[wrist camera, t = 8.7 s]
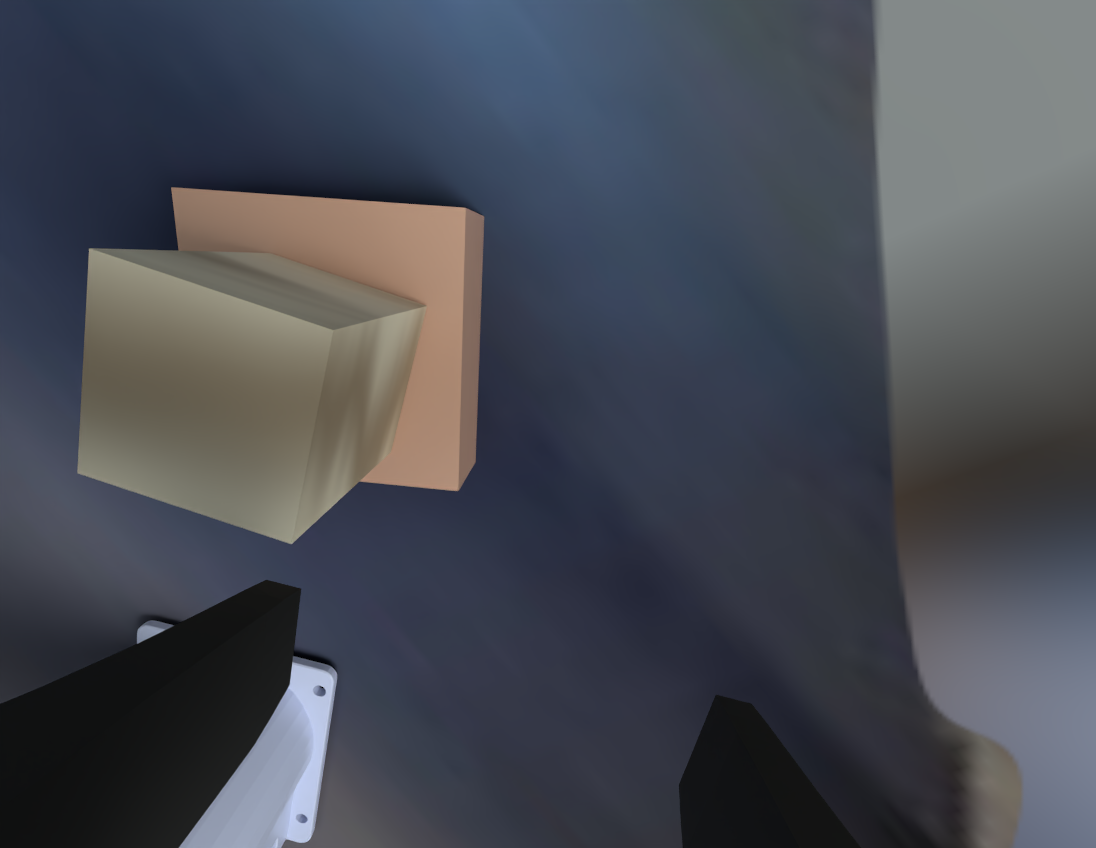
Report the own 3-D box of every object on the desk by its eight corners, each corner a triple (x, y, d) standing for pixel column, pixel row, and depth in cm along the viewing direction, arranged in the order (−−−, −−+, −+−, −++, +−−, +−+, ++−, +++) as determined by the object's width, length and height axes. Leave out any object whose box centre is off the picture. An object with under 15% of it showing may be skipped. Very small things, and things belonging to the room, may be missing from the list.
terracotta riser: (478, 457, 19) (458, 491, 16) (260, 436, 20) (204, 466, 17) (487, 217, 17) (465, 207, 14) (240, 200, 17) (170, 187, 14)
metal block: (391, 452, 16) (291, 544, 11) (246, 404, 16) (77, 472, 11) (427, 306, 15) (333, 330, 10) (269, 252, 15) (89, 247, 9)
